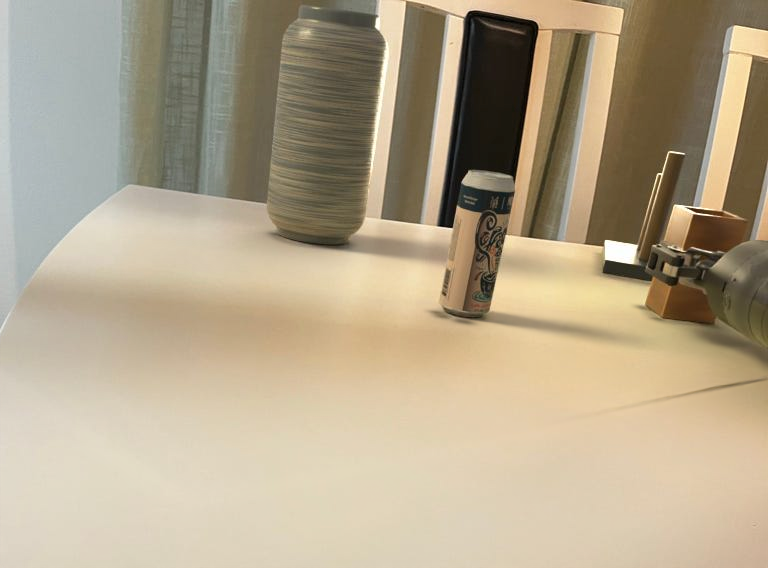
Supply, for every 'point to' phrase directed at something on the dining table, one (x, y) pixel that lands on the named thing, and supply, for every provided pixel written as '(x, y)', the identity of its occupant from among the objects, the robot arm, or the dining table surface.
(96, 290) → the dining table surface
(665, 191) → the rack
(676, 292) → the sleeve
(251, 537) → the dining table surface
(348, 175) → the vase
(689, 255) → the robot arm
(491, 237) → the drink can
